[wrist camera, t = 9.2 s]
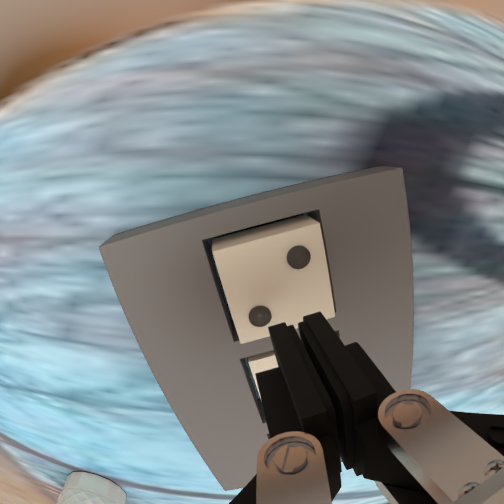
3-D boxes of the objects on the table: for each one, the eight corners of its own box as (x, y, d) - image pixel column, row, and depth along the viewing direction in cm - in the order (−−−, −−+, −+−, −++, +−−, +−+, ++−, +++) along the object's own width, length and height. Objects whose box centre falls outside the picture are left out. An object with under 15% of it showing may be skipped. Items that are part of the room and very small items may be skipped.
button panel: (380, 166, 17) (402, 167, 15) (392, 418, 24) (404, 436, 22) (113, 235, 17) (98, 247, 14) (223, 469, 23) (224, 490, 21)
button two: (305, 214, 16) (320, 223, 14) (321, 298, 18) (336, 317, 16) (212, 239, 16) (212, 252, 14) (237, 322, 18) (241, 345, 15)
